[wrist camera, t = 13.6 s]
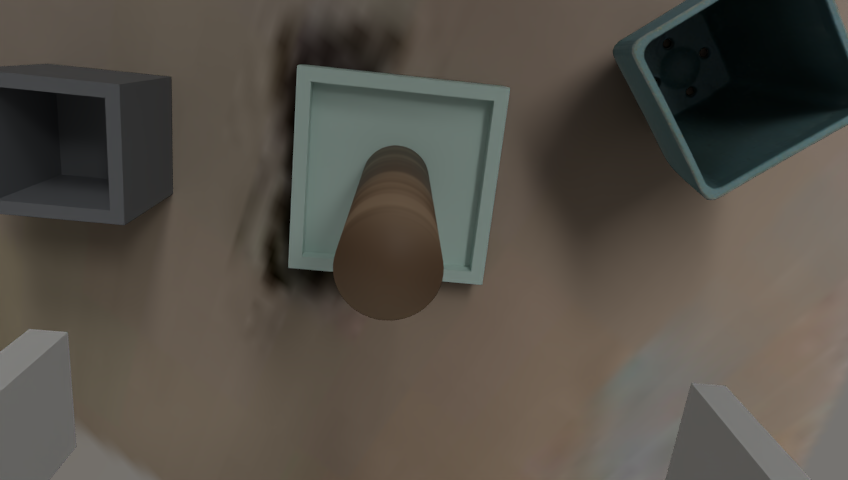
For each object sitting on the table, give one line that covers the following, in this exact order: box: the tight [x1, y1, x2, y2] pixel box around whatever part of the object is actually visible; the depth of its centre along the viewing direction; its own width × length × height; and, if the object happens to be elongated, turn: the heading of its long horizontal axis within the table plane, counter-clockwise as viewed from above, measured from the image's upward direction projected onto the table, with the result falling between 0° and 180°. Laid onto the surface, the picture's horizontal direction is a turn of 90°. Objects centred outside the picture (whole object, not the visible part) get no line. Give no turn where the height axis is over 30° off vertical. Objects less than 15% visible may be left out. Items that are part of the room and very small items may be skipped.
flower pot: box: [613, 0, 848, 200], centre depth 33 cm, size 9×9×9 cm
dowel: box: [333, 145, 444, 320], centre depth 30 cm, size 4×4×16 cm
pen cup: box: [0, 64, 173, 225], centre depth 34 cm, size 7×7×7 cm
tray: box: [288, 64, 510, 285], centre depth 38 cm, size 12×12×2 cm
